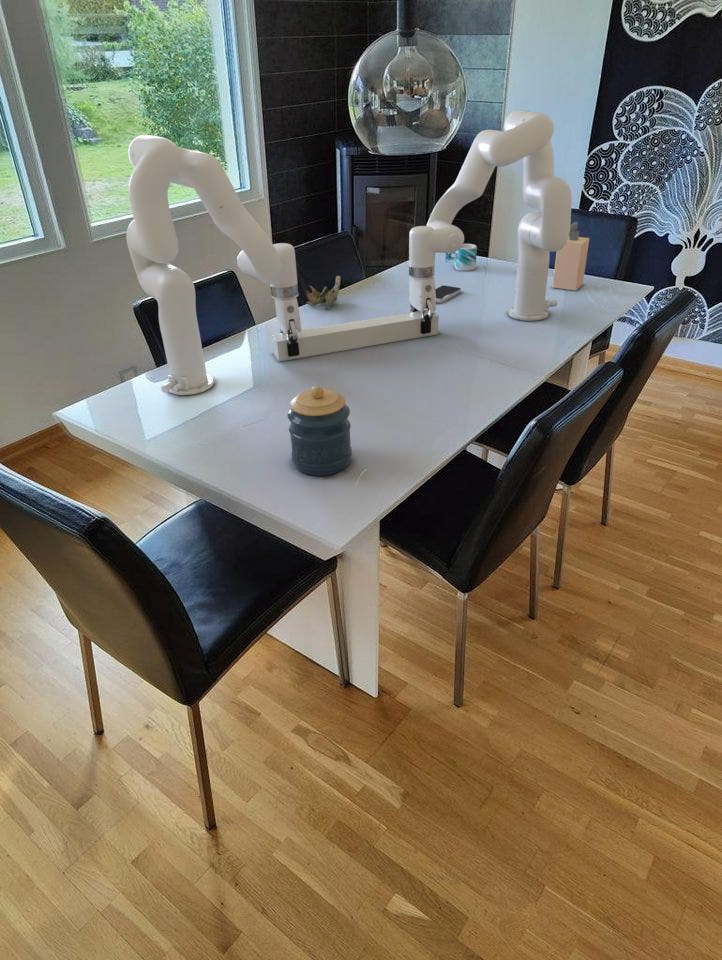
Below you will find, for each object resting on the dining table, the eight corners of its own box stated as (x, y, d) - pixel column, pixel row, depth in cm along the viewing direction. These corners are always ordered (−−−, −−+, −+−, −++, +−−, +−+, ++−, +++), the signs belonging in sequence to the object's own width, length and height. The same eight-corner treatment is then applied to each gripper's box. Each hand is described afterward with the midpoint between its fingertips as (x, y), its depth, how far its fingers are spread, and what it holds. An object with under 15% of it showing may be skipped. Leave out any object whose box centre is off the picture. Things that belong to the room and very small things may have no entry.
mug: (470, 271, 262) (471, 249, 257) (442, 268, 267) (442, 246, 263) (478, 266, 268) (479, 244, 263) (451, 262, 273) (451, 241, 268)
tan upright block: (559, 281, 247) (567, 218, 235) (582, 284, 243) (592, 220, 231) (548, 290, 238) (556, 226, 226) (572, 294, 234) (581, 228, 222)
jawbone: (353, 284, 236) (341, 264, 228) (334, 318, 232) (322, 299, 224) (332, 281, 241) (320, 262, 233) (313, 315, 237) (300, 296, 229)
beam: (279, 361, 193) (277, 341, 190) (273, 353, 198) (271, 334, 195) (438, 334, 207) (438, 315, 204) (429, 327, 212) (429, 309, 209)
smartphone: (461, 288, 240) (441, 299, 230) (461, 291, 241) (441, 303, 231) (442, 285, 244) (422, 296, 234) (442, 288, 245) (422, 300, 235)
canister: (282, 471, 142) (273, 395, 133) (307, 442, 152) (301, 370, 143) (338, 481, 138) (333, 404, 129) (360, 451, 148) (358, 377, 139)
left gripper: (306, 297, 181) (311, 359, 190) (289, 280, 194) (295, 339, 204) (279, 301, 179) (285, 364, 188) (264, 284, 192) (271, 343, 202)
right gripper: (446, 276, 192) (444, 336, 202) (421, 262, 206) (420, 318, 216) (422, 280, 190) (421, 340, 200) (398, 265, 204) (398, 322, 213)
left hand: (290, 350), depth 196 cm, fingers closed on beam, 6 cm apart
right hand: (420, 328), depth 208 cm, fingers closed on beam, 6 cm apart
